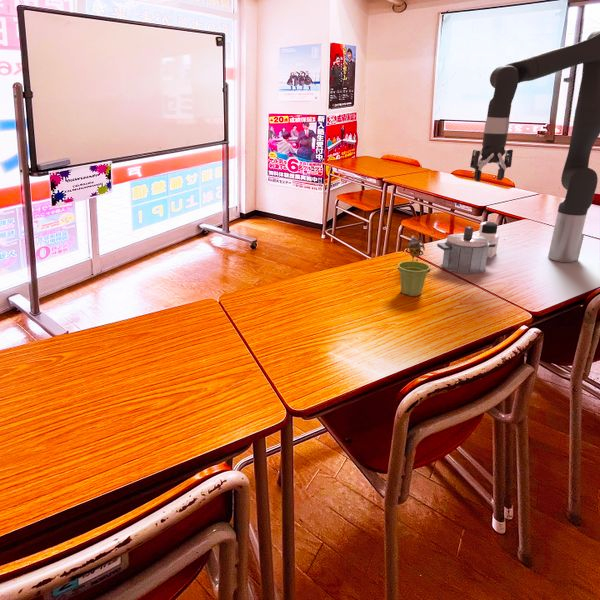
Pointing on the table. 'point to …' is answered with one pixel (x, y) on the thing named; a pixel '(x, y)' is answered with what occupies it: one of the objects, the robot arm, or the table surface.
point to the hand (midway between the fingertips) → (488, 180)
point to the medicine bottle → (489, 236)
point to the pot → (464, 258)
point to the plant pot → (412, 277)
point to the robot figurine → (415, 248)
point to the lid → (467, 239)
